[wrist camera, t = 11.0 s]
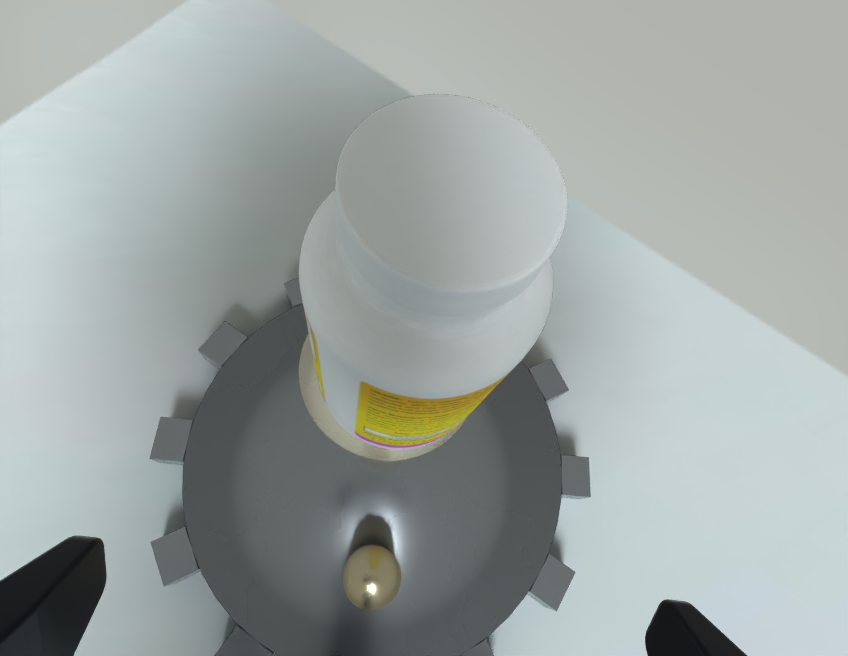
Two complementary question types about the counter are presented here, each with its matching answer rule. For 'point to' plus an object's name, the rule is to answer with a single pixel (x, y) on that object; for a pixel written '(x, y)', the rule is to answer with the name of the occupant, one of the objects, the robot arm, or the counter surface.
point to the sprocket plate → (361, 509)
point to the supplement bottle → (429, 265)
